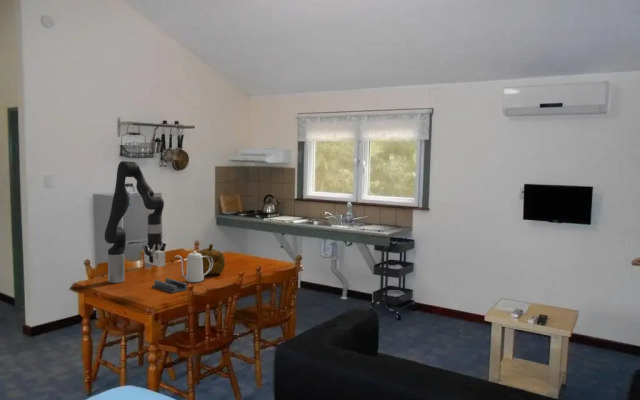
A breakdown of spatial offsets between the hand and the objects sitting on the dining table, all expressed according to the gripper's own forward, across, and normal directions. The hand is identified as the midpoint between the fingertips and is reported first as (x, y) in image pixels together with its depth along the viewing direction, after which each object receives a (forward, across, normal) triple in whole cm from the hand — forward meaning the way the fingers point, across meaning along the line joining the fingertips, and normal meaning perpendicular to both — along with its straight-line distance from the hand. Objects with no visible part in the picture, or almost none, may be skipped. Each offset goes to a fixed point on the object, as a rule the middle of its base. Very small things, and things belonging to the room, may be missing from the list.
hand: (154, 261), depth 296 cm
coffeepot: (+17, -30, -6) cm, 36 cm away
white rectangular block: (+1, 0, 0) cm, 1 cm away
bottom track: (+17, -11, 0) cm, 20 cm away
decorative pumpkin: (+17, -49, -15) cm, 54 cm away
